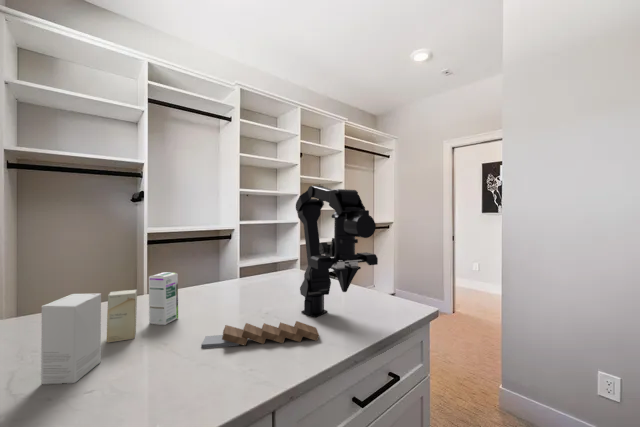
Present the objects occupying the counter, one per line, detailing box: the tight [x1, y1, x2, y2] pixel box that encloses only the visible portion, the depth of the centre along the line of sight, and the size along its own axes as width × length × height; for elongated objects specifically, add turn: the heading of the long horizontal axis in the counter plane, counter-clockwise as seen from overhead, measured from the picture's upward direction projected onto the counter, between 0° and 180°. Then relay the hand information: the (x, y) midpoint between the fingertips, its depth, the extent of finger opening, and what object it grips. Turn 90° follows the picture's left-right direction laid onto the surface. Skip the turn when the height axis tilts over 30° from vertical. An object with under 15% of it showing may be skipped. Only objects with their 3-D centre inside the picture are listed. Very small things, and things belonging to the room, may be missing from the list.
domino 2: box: [242, 322, 267, 345], centre depth 76 cm, size 2×5×6 cm
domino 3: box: [261, 322, 286, 344], centre depth 76 cm, size 2×5×6 cm
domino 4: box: [277, 322, 303, 343], centre depth 77 cm, size 2×5×6 cm
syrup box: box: [148, 271, 179, 326], centre depth 89 cm, size 6×6×14 cm
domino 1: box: [222, 324, 249, 346], centre depth 74 cm, size 2×5×6 cm
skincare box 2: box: [106, 289, 138, 343], centre depth 77 cm, size 6×4×12 cm
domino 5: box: [293, 320, 320, 342], centre depth 78 cm, size 2×5×6 cm
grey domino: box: [200, 334, 240, 349], centre depth 75 cm, size 2×5×9 cm
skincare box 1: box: [40, 292, 102, 385], centre depth 60 cm, size 8×7×16 cm
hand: (344, 291), depth 79 cm, fingers closed
